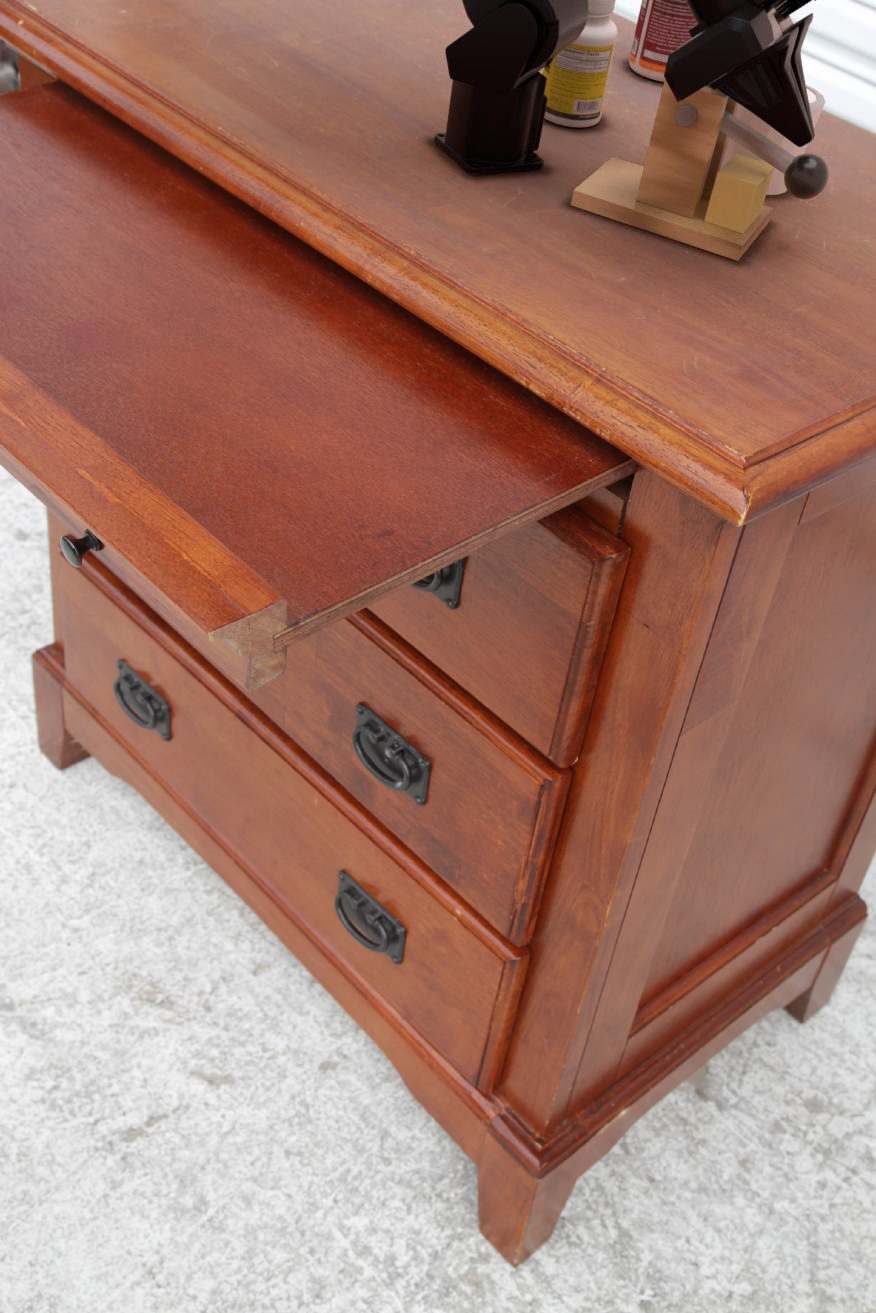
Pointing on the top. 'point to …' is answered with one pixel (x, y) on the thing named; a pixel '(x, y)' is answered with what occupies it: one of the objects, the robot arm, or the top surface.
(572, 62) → the supplement bottle
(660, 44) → the pill bottle
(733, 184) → the butter
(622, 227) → the top surface
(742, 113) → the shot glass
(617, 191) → the butter cutter
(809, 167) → the lever
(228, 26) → the top surface
